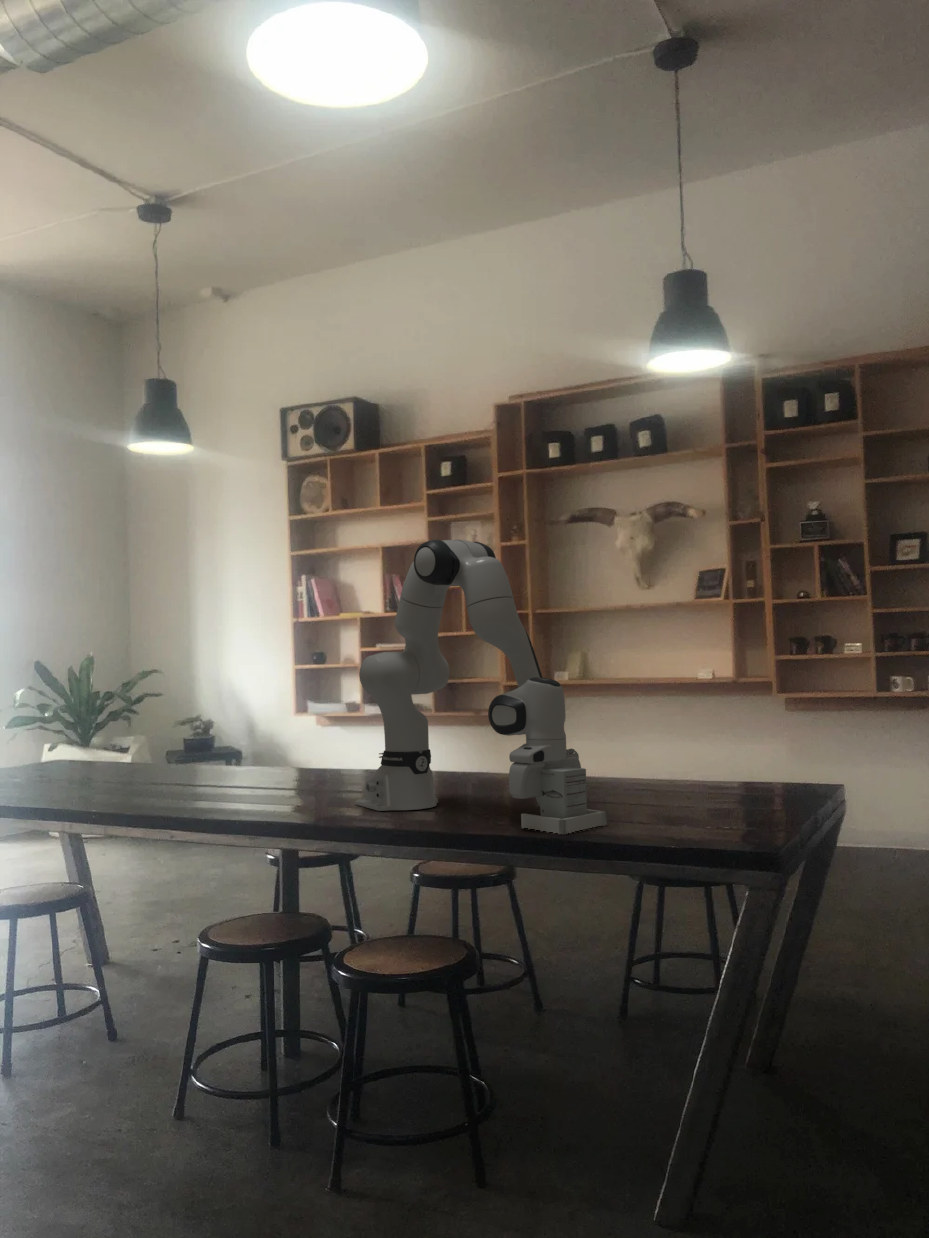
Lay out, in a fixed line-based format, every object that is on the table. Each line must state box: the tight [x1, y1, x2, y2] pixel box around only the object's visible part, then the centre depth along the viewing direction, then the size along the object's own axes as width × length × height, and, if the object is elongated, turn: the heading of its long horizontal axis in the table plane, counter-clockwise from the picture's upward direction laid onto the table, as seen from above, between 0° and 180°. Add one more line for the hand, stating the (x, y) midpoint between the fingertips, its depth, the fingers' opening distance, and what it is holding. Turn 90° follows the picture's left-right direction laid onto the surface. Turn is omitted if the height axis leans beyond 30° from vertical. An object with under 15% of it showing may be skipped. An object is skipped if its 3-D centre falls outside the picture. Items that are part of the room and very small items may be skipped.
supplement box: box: [540, 766, 588, 819], centre depth 204 cm, size 7×7×13 cm
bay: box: [520, 808, 608, 836], centre depth 204 cm, size 12×14×3 cm
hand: (547, 814), depth 208 cm, fingers closed, pressing on supplement box
